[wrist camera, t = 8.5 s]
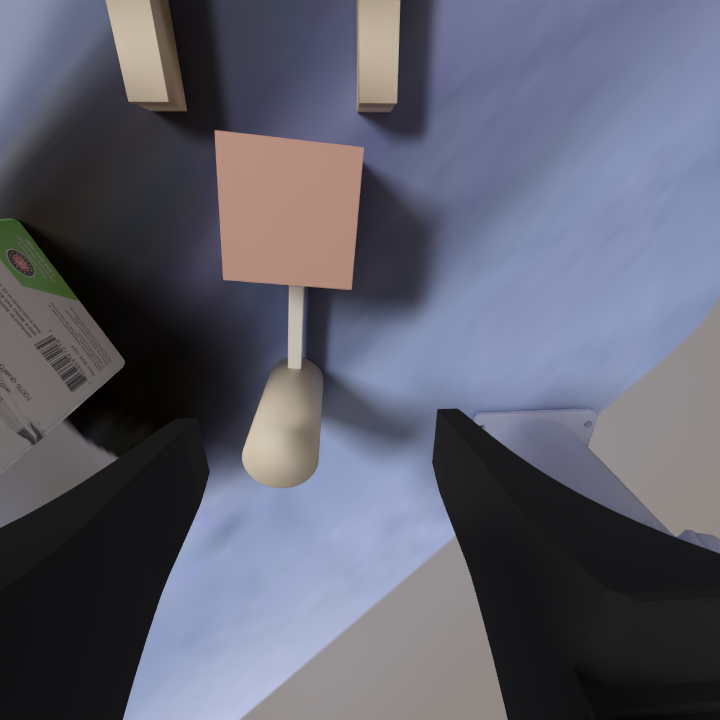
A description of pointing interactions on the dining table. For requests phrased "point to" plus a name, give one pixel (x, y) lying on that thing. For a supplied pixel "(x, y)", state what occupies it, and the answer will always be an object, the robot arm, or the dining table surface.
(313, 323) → the dining table surface
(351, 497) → the dining table surface
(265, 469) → the pink handled block
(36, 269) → the ink box
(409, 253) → the dining table surface
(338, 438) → the dining table surface
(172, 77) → the shelf
